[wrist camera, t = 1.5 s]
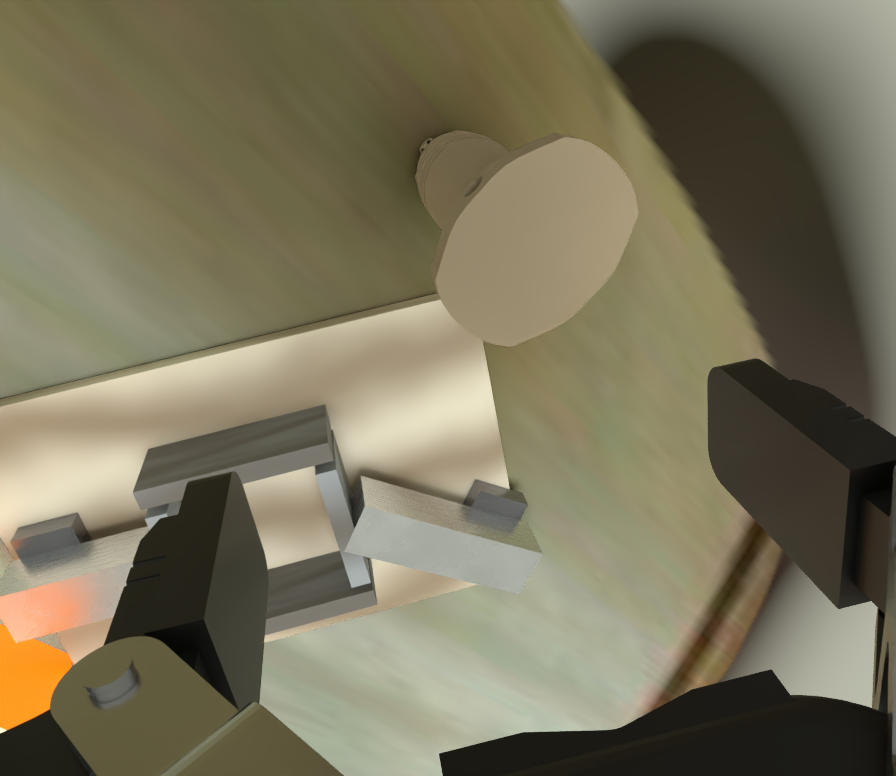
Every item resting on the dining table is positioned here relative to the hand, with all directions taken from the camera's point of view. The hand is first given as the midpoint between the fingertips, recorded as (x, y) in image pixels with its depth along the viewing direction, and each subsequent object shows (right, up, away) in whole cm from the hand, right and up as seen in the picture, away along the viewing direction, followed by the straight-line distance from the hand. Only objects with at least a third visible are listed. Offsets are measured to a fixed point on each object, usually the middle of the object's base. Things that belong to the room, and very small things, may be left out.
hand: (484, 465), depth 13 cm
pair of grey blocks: (-9, -7, +29) cm, 31 cm away
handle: (-1, +12, +23) cm, 26 cm away
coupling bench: (-10, -5, +28) cm, 31 cm away
